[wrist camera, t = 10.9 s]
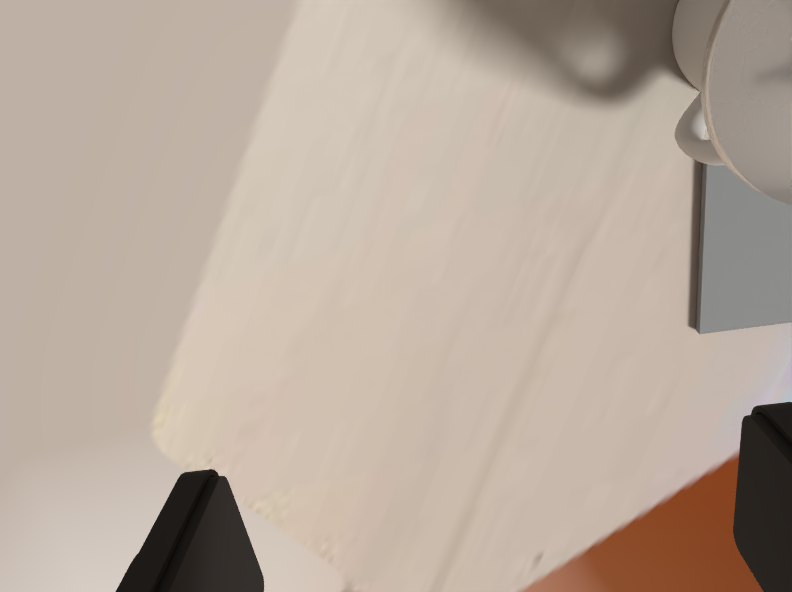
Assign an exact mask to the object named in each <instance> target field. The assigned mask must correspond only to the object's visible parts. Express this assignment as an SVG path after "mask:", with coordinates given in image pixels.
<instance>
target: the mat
mask: <svg viewBox="0 0 792 592" xmlns="http://www.w3.org/2000/svg"><path fill="white" fill-rule="evenodd" d="M789 322H792V205H789V204H786V203H782V202H780V201H778V200H776V199H773V198H771V197H769V196H767V195H765V194H763V193H761V192H759V191H757V190H755V189H753V188H752V187H750V186H749V185H747V184H746V183H744V182H743V181H742V180H740V179H739V178H738V177H737V176H736V175H735V174H734V173H733V172H732V171H731V170H730V169H729V168H728V167H727V166H726V165H709V164H705V163H703V169H702V194H701V218H700V243H699V268H698V292H697V317H696V331H697V332H698V333H699V334H704V333H712V332H720V331H728V330H735V329H743V328H751V327H758V326H766V325H774V324H782V323H789Z"/></svg>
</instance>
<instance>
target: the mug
mask: <svg viewBox="0 0 792 592" xmlns="http://www.w3.org/2000/svg"><path fill="white" fill-rule="evenodd" d="M723 2H724V0H679V1H678V4H677V8H676V11H675V14H674V20H673V27H672V43H673V50H674V55H675V58H676V61H677V63H678V66H679V68H680V69H681V71H682V73H683V74H684V76H685V77H686V78H687V80H688V81H689V82H690V83H691V84H692V85H693V86H694V87H695V88H697V89H698V90H700V91H701V78H702V68H703V60H704V56H705V52H706V47H707V43H708V39H709V36H710V34H711V31H712V28H713V25H714V22H715V19H716V17H717V15H718V13H719V11H720V9H721V7H722V4H723ZM706 130H707V127H706V124H705V121H704V115H703V109H702V103H701V92H700V93H699V95H698V96H697V97H696V98H695V100H694V101H693V102H692V103H691V105H690V106H689V107H688V108H687V110H686V111H685V112H684V114H683V115H682V117H681V119H680V120H679V122H678V124H677V127H676V130H675V139H676V142H677V144H678V146H679V147H680V148H681V149H682V150H683V151H684V153H685V154H686V155H688V156H690V157H691V158H693V159H695V160H696V161H699V162H701V163H705V164H709V165H726V164H725V163H724V162H723V160H722V159H721V157H720V156H719V155H718V153H717V151H716V149H715V147H714V145H713V143H712V141H711V140H703V136H704V134H705V132H706Z"/></svg>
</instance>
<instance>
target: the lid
mask: <svg viewBox="0 0 792 592" xmlns="http://www.w3.org/2000/svg"><path fill="white" fill-rule="evenodd" d="M701 103H702V109H703V115H704V121H705V124H706V127H707V130H708V134H709V137H710V139H711V141H712V143H713V145H714V147H715V149H716V151H717V153H718V155H719V156H720V157H721V159H722V160H723V162H724V163H725V164H726V166H727V167H728V168H729V169H730V170H731V171H732V172H733V173H734V174H735V175H736V176H737V177H738V178H739V179H740V180H742V181H743V182H744V183H746V184H747V185H749V186H750V187H752V188H753V189H755V190H757V191H759V192H761V193H763V194H765V195H767V196H769V197H771V198H773V199H776V200H778V201H780V202H782V203H786V204H789V205H792V0H724V2H723V4H722V7H721V9H720V11H719V13H718V15H717V17H716V19H715V22H714V25H713V28H712V31H711V34H710V36H709V39H708V43H707V47H706V52H705V56H704V60H703V68H702V78H701Z"/></svg>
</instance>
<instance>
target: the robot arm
mask: <svg viewBox="0 0 792 592" xmlns="http://www.w3.org/2000/svg"><path fill="white" fill-rule="evenodd" d="M733 533H734V539H735V542H736V545H737V548H738V550H739V552H740V554H741V555H742V557H743V558H744V560H745V562H746V563H747V565H748V567H749V568H750V570H751V572H752V573H753V575H754V577H755V578H756V580H757V581H758V583H759V585H760V586H761V588H762V589H763V591H764V592H792V402H785V403H777V404H768V405H760V406H756V407H754V408H753V410H752V413H751V415H748V416H745V417H744V418H743V421H742V429H741V441H740V453H739V466H738V478H737V490H736V502H735V514H734V526H733ZM116 592H264V579H263V575H262V572H261V569H260V566H259V564H258V561H257V558H256V555H255V553H254V550H253V547H252V545H251V542H250V539H249V536H248V534H247V531H246V528H245V526H244V523H243V520H242V518H241V515H240V512H239V509H238V507H237V504H236V501H235V499H234V496H233V493H232V490H231V488H230V485H229V482H228V480H227V478H226V477H225V476H219V475H218V473H217V472H216V471H215V470H212V469H210V470H201V471H193V472H185V473H183V474H181V475H180V477H179V478H178V480H177V482H176V484H175V486H174V488H173V489H172V491H171V493H170V495H169V497H168V499H167V501H166V503H165V505H164V506H163V509H162V510H161V512H160V514H159V516H158V518H157V520H156V522H155V523H154V525H153V527H152V529H151V531H150V533H149V535H148V537H147V538H146V540H145V542H144V544H143V546H142V548H141V550H140V552H139V553H138V554H137V555H136V557H135V558H134V559H133V561H132V563H131V564H130V566H129V568H128V570H127V572H126V573H125V575H124V577H123V579H122V581H121V583H120V585H119V587H118V588H117V590H116Z"/></svg>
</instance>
